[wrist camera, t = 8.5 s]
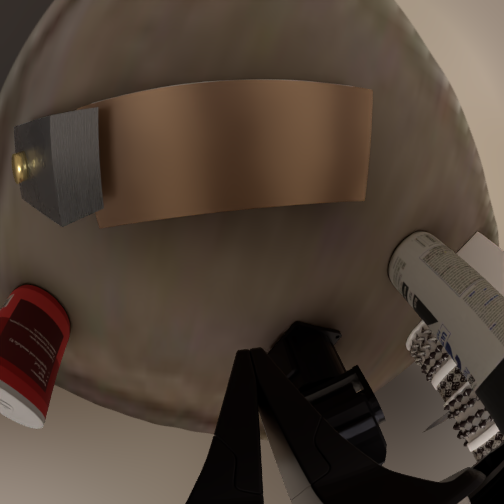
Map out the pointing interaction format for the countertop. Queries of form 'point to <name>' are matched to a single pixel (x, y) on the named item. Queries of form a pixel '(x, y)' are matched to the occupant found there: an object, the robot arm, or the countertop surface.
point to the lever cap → (60, 165)
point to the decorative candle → (454, 392)
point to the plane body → (231, 148)
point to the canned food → (30, 353)
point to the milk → (485, 260)
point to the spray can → (456, 312)
